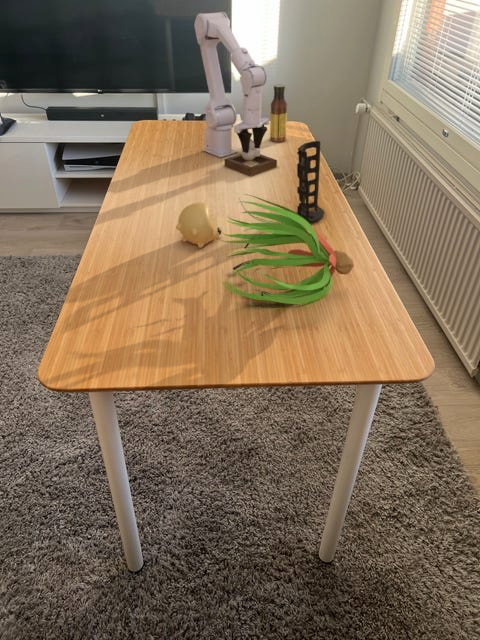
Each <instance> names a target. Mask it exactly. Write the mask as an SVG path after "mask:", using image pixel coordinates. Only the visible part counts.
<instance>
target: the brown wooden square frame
mask: <svg viewBox="0 0 480 640" xmlns="http://www.w3.org/2000/svg"><path fill="white" fill-rule="evenodd" d="M247 161H249V160H245V159H244V158H243V157H242V155H241V153H238V154H236V155H233V156H230V157H227V158H224V167H226V168H228V169H231V170H233V171H236V172H238V173H240V174H244V175H245V176H247V177H248V176H249V177H253V176H256V175H259V174H261V173H265V172H267V171H270V170H273V169H275V168H277V165H278V159H275V158H272V157H270V156H267V155H264V154H261V153H260V156H259V157H255V158H254V159H253V160H252V161H253V162H256V163H257V164H255V165H251V166H250V165H247V164H245V162H247Z"/></svg>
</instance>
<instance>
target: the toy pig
mask: <svg viewBox="0 0 480 640" xmlns="http://www.w3.org/2000/svg"><path fill="white" fill-rule="evenodd" d="M177 222H178V223H177V224H176V225H175V228H176V230H177V231H179V232H180V234H181V236H182V238H181V239H182V241H183V242H185V243H186V242H189V243H190V244H193V245H197V248H199V249H202V248H203V247H204V246H205V245H206V244H208V243H210V242H213V241H216V240H217V239H219V238H220V236H221V234H222V232H221V231H222V229H221V228H220V227H219V226H218V225H219V224H218V223H217V221H216V218H215V216H214V213H213V211H212V209H211V207H210V206H209V205H208V204H207V203H205V202H194V203H190V204H189V205H187V206H185V207H184V208H183V209H182V210H181V212H180V213H179V217H178V221H177ZM217 236H218V237H217Z"/></svg>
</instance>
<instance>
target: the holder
mask: <svg viewBox="0 0 480 640" xmlns="http://www.w3.org/2000/svg"><path fill="white" fill-rule="evenodd" d="M312 148H314V149H315V154H313V155H308V152H307V151H306V150H308V149H312ZM296 154H297V155H298V162H297V163H296V173H297V175H296V176H297V178H298V186H297V187H296V188H297V189H296V191H297V193H298V201H299V202H298V205H297V206H296V207H297V214H299V215H300V216H302V217H303V218H304V219H306V220H307V221H308V222H309V223H310V225H312V224H315V223H317V222H318V221H321V220H322V219H323V218H324V216H325V211H324V209H323V208H321V207H320V206H319V205H318V203H319V201H318V199H319V187H320V165H321V140H314V141H309V142H305V143H302V144H301V145H300V146H299V147H298V148H297V153H296ZM313 161H315V165H314V167H312V166H311V163H312V162H313ZM313 173H314V178H313V179H310V180H309V174H313ZM312 185H314V190H312V191H311V186H312ZM310 197H313V201H312V202H310V200H309V198H310ZM310 209H314V210H310Z"/></svg>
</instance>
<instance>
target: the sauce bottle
mask: <svg viewBox="0 0 480 640" xmlns="http://www.w3.org/2000/svg"><path fill="white" fill-rule="evenodd" d="M285 90H286V86H285V85H284V84H282V83H281V84H279V83H278V84H274V85H273V99H272V101H271V103H270V119H269V126H270V129H269V137H270V140H271V141H272V142H276V143H283V142H285V141H286V139H287V127H288V126H287V124H288V104H287V101H286V98H285Z"/></svg>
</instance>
